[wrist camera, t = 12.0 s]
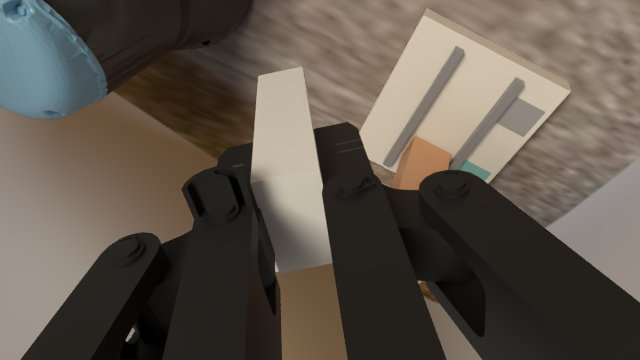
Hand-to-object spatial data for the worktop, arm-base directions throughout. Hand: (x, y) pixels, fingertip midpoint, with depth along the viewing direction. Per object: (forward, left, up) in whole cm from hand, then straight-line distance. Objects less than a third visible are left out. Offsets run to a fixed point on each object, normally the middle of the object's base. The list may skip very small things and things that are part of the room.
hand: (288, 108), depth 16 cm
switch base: (+10, -12, -28) cm, 32 cm away
